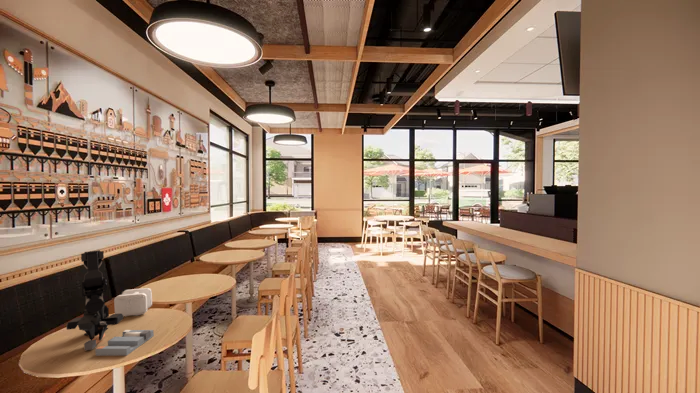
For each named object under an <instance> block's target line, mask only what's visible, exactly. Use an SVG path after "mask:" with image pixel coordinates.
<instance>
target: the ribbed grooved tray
mask: <svg viewBox="0 0 700 393" xmlns="http://www.w3.org/2000/svg"><path fill="white" fill-rule="evenodd" d="M144 330H145V329H125V330H123V331H122V336H114V337H112V338H110V339H108V340H107V345H99V346H98V347H97V346H96V347H95V348H94V349H95V356H98V357H99V356H100V357H101V356H128V355H130V354H131V353H132V352H133V351H135V350H137V349H138V348H139V347H140V346H142V345H143V344H145V343H146V342H147V341H149V340H150V339H151V338H153V337H154V329H149V330H150V334H151V337H149V338H148V339H147V340H144V337H124V334H125V333H126V332H143V331H144Z"/></svg>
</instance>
